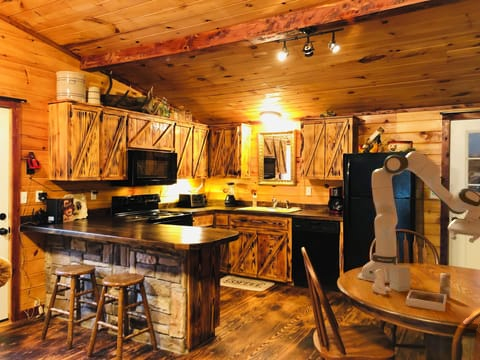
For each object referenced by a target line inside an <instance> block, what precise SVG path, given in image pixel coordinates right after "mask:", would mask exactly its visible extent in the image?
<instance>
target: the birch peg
mask: <svg viewBox="0 0 480 360" xmlns="http://www.w3.org/2000/svg"><path fill="white" fill-rule="evenodd" d="M439 294H445V295H446V300H449V299H451V274H450V273H445V272H443V273H442V272H441V273H439Z"/></svg>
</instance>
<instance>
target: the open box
mask: <svg viewBox="0 0 480 360" xmlns="http://www.w3.org/2000/svg"><path fill="white" fill-rule="evenodd" d="M413 292H416V293H423V294H430V295H437V296H443V303H437V302H431V301H424V300H418V299H411V295H412V293H413ZM405 303H406V304H405V305H406V306H408V307H416V308H419V309H427V310H432V311H438V312H445V311H446V304H447V299H446V295H445V294H440V293H439V292H436V293H435V292H432V291H431V292H430V291H423V290H415V289H410V291H408V293H407V296H406V298H405Z"/></svg>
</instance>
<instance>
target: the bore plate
mask: <svg viewBox="0 0 480 360" xmlns="http://www.w3.org/2000/svg"><path fill="white" fill-rule="evenodd" d="M411 299H418V300H424V301H431V302H437V303H443V296H437V295H430V294H423V293H416V292H413V293H412V295H411Z"/></svg>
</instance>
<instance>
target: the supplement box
mask: <svg viewBox="0 0 480 360" xmlns="http://www.w3.org/2000/svg"><path fill="white" fill-rule="evenodd" d="M389 288H390V289H391V290H394V291H396V292H399V293H400V292H409V291H410V290H411V267H409V266H405V265H402V264H397V265H392V266H390V283H389Z"/></svg>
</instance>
